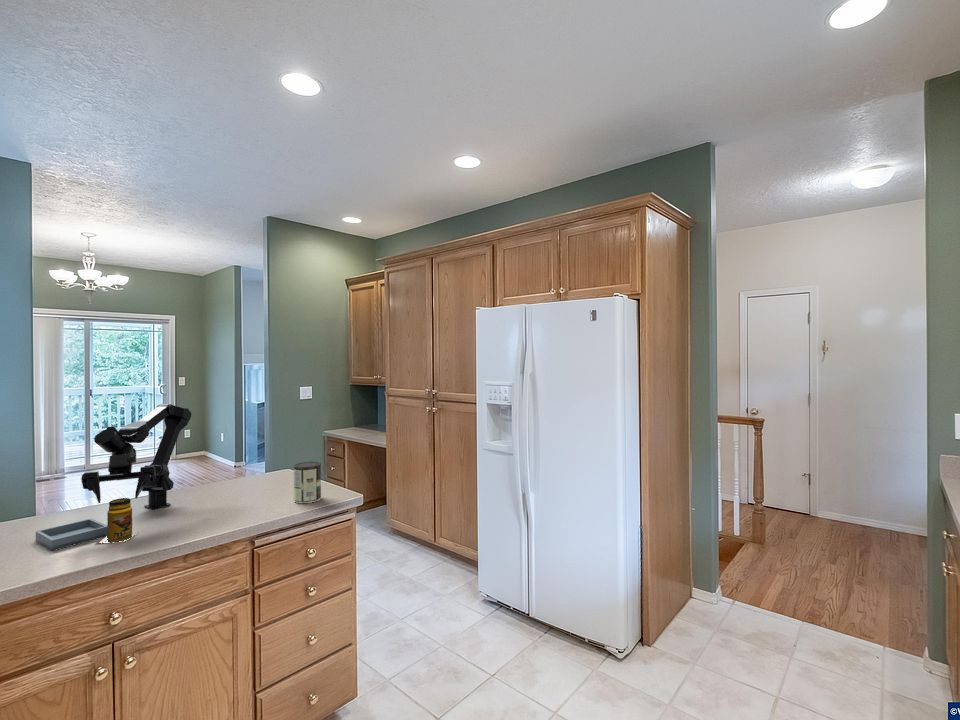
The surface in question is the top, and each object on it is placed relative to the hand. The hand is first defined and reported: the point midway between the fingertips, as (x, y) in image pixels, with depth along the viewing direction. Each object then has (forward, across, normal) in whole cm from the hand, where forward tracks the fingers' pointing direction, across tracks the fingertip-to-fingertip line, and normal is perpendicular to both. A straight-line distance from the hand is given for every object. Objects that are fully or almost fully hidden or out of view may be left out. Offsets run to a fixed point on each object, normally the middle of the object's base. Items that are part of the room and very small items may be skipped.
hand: (117, 500), depth 146 cm
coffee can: (+4, +59, +12) cm, 60 cm away
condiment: (+11, 0, +5) cm, 12 cm away
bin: (+5, -11, +10) cm, 16 cm away
